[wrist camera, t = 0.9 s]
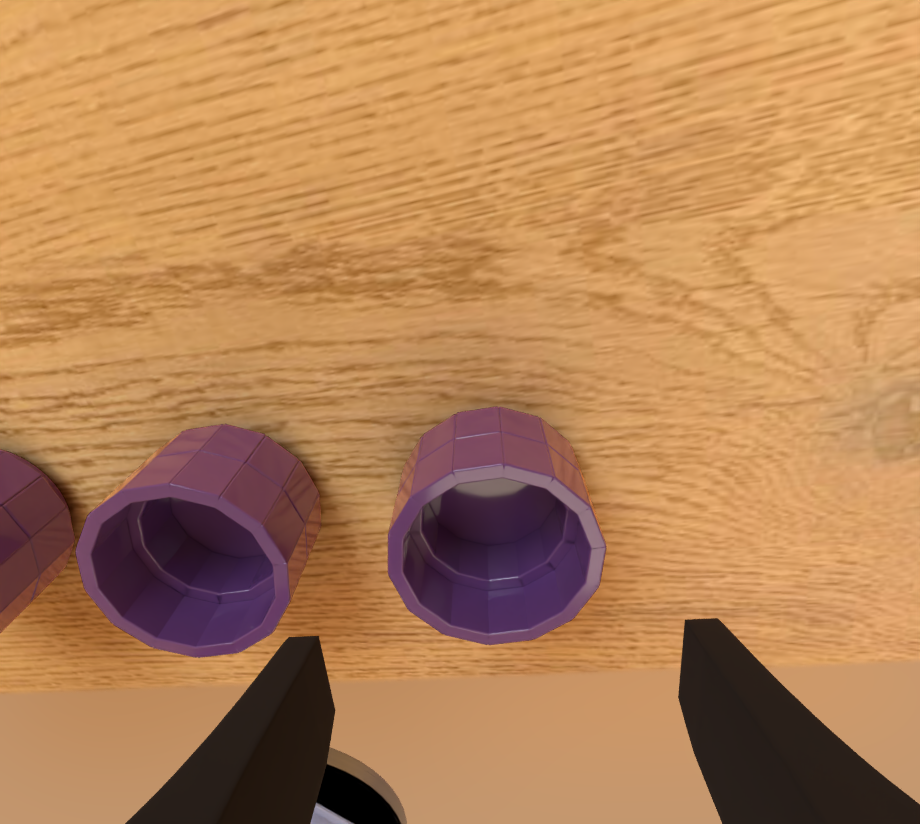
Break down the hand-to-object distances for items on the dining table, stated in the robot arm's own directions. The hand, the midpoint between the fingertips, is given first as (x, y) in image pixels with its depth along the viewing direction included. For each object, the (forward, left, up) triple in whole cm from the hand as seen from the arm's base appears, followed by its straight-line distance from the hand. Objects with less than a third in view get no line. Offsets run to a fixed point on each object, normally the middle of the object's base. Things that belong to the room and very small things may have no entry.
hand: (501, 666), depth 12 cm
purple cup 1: (-6, +5, -7) cm, 11 cm away
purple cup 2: (0, 0, -7) cm, 7 cm away
